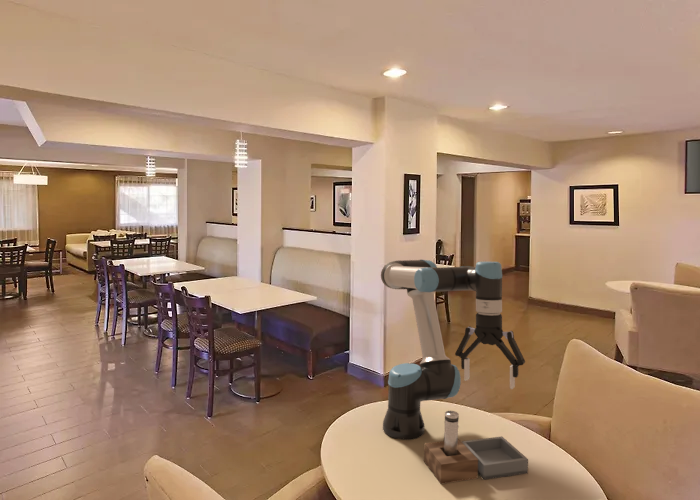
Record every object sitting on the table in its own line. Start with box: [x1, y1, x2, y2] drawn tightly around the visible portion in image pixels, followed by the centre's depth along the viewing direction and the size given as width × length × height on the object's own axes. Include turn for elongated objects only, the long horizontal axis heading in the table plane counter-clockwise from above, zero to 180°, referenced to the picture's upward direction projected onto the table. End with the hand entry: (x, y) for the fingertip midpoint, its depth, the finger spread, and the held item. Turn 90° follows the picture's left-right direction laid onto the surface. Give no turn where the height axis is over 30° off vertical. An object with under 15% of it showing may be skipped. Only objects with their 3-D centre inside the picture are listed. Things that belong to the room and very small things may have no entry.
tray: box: [460, 435, 529, 480], centre depth 140 cm, size 14×15×4 cm
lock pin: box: [443, 410, 460, 456], centre depth 136 cm, size 4×4×18 cm
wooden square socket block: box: [423, 438, 479, 485], centre depth 136 cm, size 12×12×6 cm
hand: (489, 383), depth 133 cm, fingers open, 13 cm apart
